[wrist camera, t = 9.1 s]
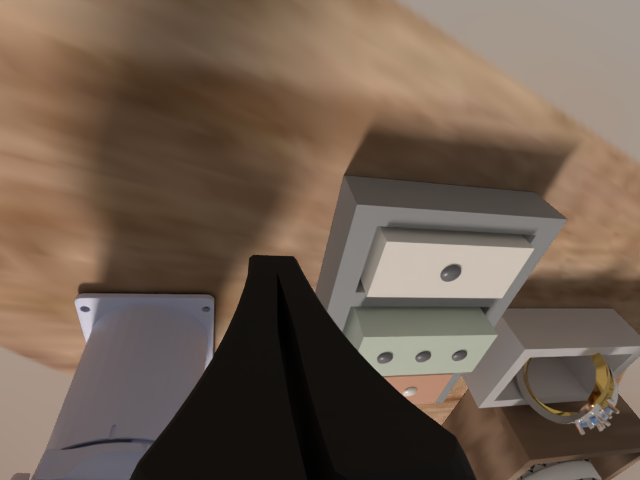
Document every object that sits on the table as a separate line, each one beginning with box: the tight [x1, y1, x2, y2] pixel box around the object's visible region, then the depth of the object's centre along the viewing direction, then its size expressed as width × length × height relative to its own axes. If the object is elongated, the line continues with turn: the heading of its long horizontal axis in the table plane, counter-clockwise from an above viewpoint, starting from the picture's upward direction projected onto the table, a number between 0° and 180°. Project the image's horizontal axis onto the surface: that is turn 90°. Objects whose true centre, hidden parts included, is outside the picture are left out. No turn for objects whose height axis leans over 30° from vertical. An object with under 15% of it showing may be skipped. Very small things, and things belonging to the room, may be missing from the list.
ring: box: [517, 353, 619, 435], centre depth 31 cm, size 7×3×8 cm, turn 135°
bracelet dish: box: [462, 308, 640, 408], centre depth 33 cm, size 8×12×4 cm, turn 79°
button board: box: [315, 175, 568, 403], centre depth 27 cm, size 19×13×3 cm, turn 169°
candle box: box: [442, 389, 640, 480], centre depth 39 cm, size 14×14×8 cm
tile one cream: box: [360, 226, 535, 298], centre depth 23 cm, size 4×9×3 cm, turn 80°
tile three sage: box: [343, 306, 498, 376], centre depth 25 cm, size 4×9×3 cm, turn 79°
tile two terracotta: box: [383, 373, 453, 405], centre depth 29 cm, size 4×9×3 cm, turn 79°
